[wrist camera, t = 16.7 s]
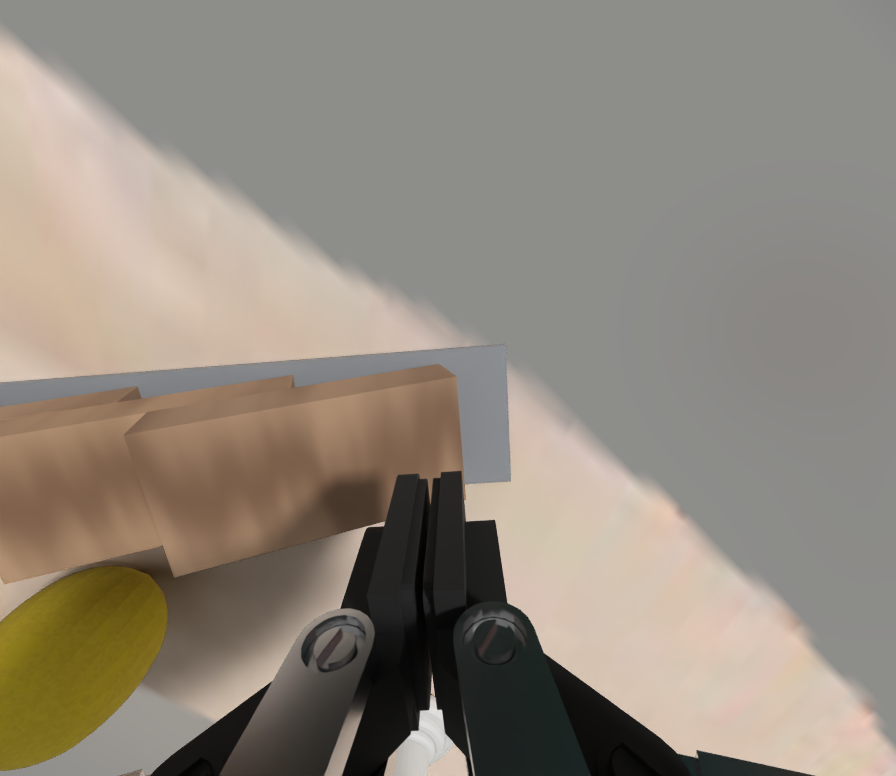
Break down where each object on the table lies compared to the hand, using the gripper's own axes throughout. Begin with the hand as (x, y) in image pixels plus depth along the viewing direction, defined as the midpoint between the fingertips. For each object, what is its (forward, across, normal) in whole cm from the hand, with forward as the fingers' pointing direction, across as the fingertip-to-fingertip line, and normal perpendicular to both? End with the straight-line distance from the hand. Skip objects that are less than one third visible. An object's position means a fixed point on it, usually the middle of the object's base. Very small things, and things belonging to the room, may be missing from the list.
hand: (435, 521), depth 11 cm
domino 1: (+6, +6, 0) cm, 8 cm away
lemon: (+7, +15, +7) cm, 18 cm away
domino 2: (+6, 0, 0) cm, 6 cm away
